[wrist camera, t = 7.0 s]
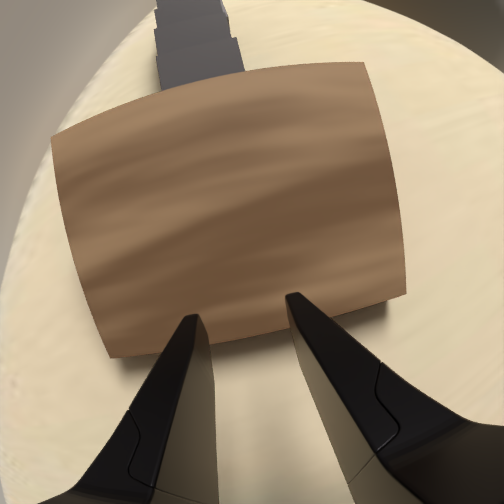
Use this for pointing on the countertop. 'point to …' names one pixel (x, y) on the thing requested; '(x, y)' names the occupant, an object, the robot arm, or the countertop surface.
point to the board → (231, 204)
